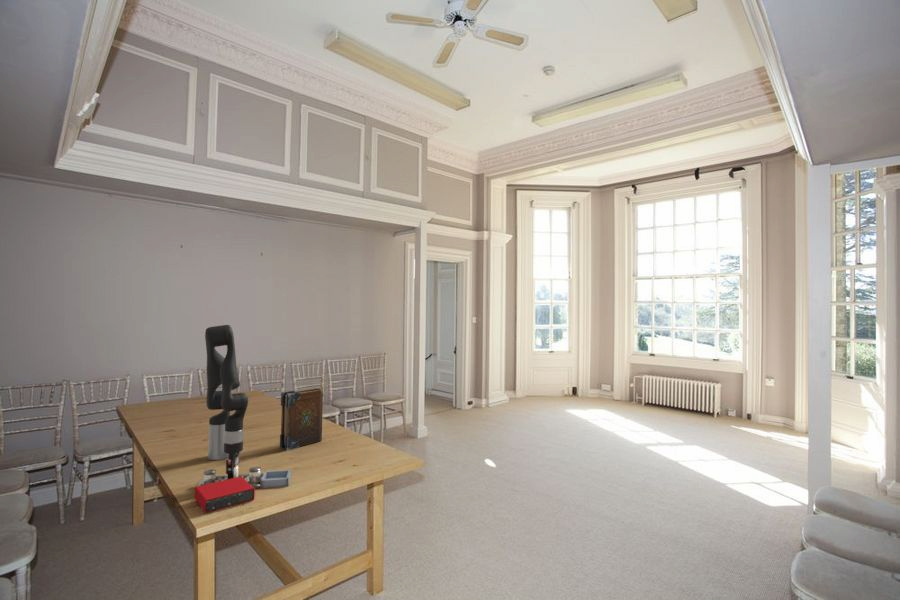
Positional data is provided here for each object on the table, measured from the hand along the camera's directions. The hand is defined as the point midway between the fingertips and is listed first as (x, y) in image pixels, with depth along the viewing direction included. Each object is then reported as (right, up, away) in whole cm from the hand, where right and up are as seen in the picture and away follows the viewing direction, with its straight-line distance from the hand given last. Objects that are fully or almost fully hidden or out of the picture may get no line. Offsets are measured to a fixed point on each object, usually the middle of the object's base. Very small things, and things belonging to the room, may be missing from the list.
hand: (232, 478), depth 193 cm
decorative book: (+12, -3, +56) cm, 57 cm away
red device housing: (+5, -2, -17) cm, 18 cm away
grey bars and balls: (0, -2, -2) cm, 3 cm away
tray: (+18, -2, +2) cm, 18 cm away
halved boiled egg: (0, -2, 0) cm, 2 cm away
